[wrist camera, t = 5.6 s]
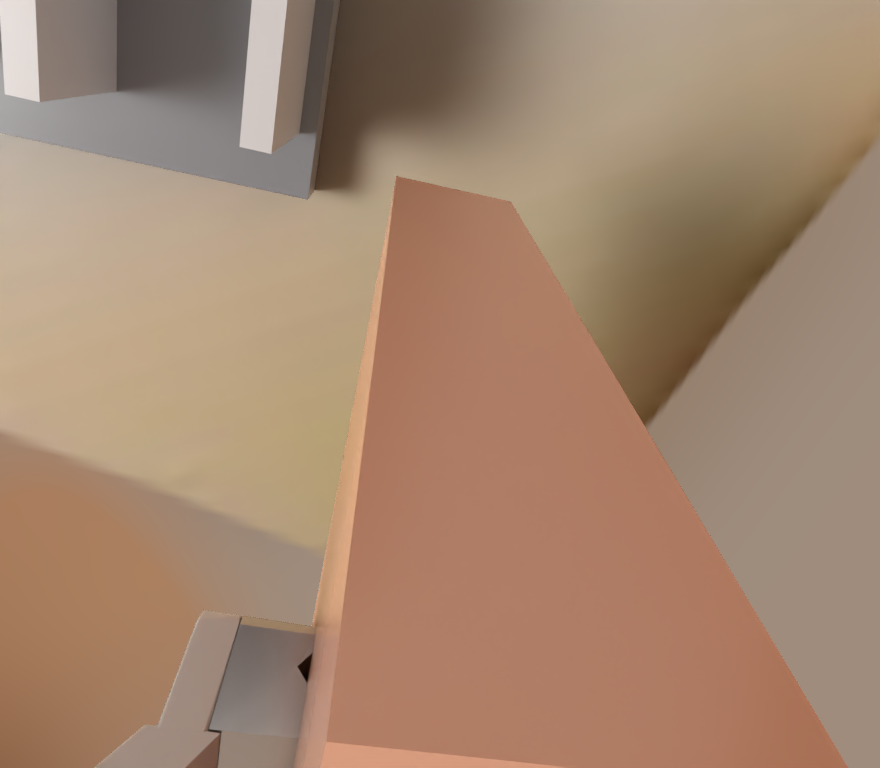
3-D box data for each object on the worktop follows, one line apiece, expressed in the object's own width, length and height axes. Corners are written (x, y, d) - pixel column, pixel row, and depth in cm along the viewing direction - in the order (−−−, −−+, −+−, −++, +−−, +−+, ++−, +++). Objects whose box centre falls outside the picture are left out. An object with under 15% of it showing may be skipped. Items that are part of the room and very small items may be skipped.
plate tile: (395, 175, 11) (327, 742, 2) (511, 202, 11) (864, 797, 2) (310, 633, 16) (181, 1376, 7) (391, 643, 16) (365, 1371, 7)
